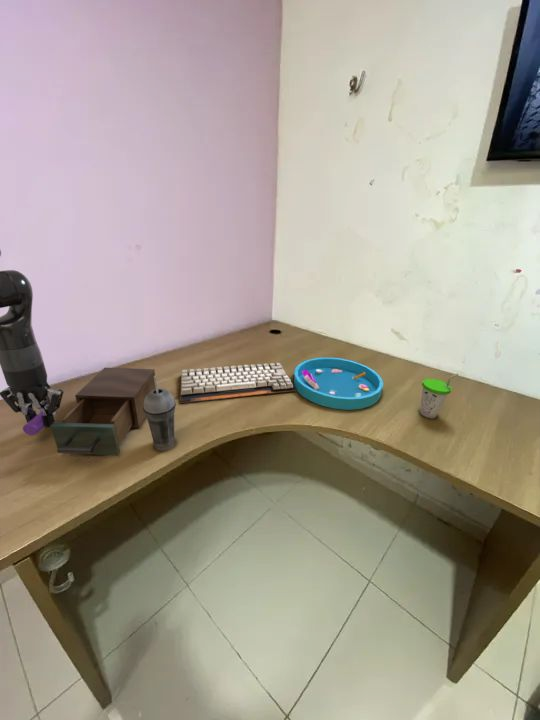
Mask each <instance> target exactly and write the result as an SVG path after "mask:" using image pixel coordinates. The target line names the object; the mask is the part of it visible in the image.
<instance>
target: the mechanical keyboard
mask: <svg viewBox="0 0 540 720" xmlns="http://www.w3.org/2000/svg"><path fill="white" fill-rule="evenodd" d="M287 392H296V388H295V387H294V384H293V380H292V378H290V377H289V376H288V374H287V372H286V371H285V370H284V368H283V365H282V364H281V363H280V362H275V363H274V362H271V363H269V364H268V363H256V364H250V365H249V364H244V365H242V364H241V365H237V366H236V365H230V367H229V366H223V367H222V366H217V367H214V366H213V367H210V368H208V367H204V368H203V369H202V368H196V369H195V368H189V369H181V374H180V376H179V404H180V405H181V404H187V403H199V402H207V401H216V400H225V399H233V398H242V397H243V398H244V397H249V396H250V397H251V396H259V395H267V394H277V393H278V394H280V393H287Z"/></svg>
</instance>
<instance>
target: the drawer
mask: <svg viewBox="0 0 540 720" xmlns="http://www.w3.org/2000/svg"><path fill="white" fill-rule="evenodd" d="M134 422H135V420H134V414H133V409H132V403H131V400H119V399H88V398H83V399H82V400H81V401H80V402H79V403H78V404H77V403H76V404H75V405H74V407H72V408H71V409H70V411H68V412H67V413H66V415H64V416H63V418H61V422H54V423H53V424H51V425H50V429H51V433H52V436H53V439H54V442H55V446H56V448H57V449H56V452H57V453H58V454H70V455H71V454H73V455H75V454H76V455H107V456H108V455H109V456H112V455H113V456H119V454H120V452H121V449H120V446H121V444H122V442H123V441H124V439H125V438H126V436H127V435H128V433H129V431H131V429H132V428H131V427H132V425H133V424H134Z"/></svg>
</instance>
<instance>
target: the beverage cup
mask: <svg viewBox="0 0 540 720" xmlns="http://www.w3.org/2000/svg"><path fill="white" fill-rule="evenodd" d="M154 382H155V390H153V391H151V392H150V393H148V395H147V396H146V398H145V400H144V406H143V410H144V412H145V415H146V419H147V422H148V426H149V430H150V433H151V438H152V441H153V444H154V448H155V449H156V450H157V451H160V452H161V451H162V452H163V451H164V452H165V451H169V450H170V449H171V448H173V447H174V445H175V412H176V405H177V403H176V401H175V397H174V396H173V394H172V392H171V391H169V390H166V389H163V388H158V381H157V376H156V375H155V376H154Z"/></svg>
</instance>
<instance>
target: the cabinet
mask: <svg viewBox="0 0 540 720" xmlns="http://www.w3.org/2000/svg"><path fill="white" fill-rule="evenodd" d="M154 376H156V371H155V369H154V368H129V367H128V368H127V367H104V368H102V369H101V370H100V371H99V372H98V373H97V374H96V375H95V376H93V378H92V379H91V380H90V381H89V382H87V383H86V384H85V386H84V387H82V388H81V389H80V390H79V391H78V392H77V393H76V394H75V395H74V397H75V400H76V405H77V404H78V403H79V402H80V401H81V400H82V399H83V398H88V399H119V400H131V403H132V409H133V414H134V420H135V422H134V424H133V425H132V427H131V428H130V429H140V428H141V426H142V425H143V423H144V421H145V419H147V417H146V415H145V412H144V410H143V406H144V400H145V398H146V396H147V395H148V393H150V392H151V391H153V390H155V382H154Z"/></svg>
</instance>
